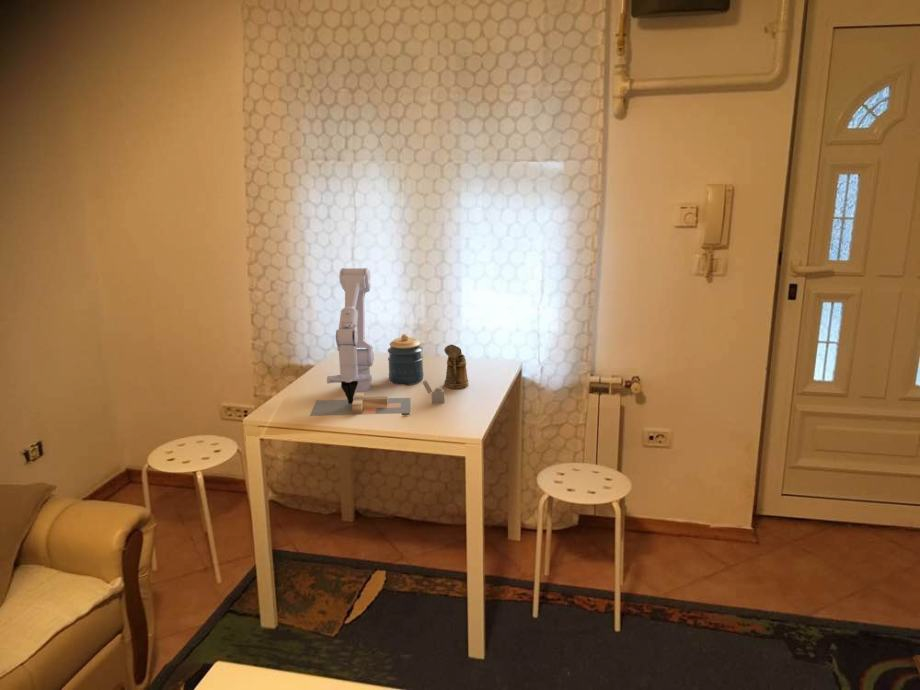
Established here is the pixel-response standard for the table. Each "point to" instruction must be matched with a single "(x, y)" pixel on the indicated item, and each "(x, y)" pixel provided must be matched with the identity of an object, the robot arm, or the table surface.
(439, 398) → the lighter
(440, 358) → the table surface
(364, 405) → the t block
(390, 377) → the canister
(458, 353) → the bronze figurine
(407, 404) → the slate board
